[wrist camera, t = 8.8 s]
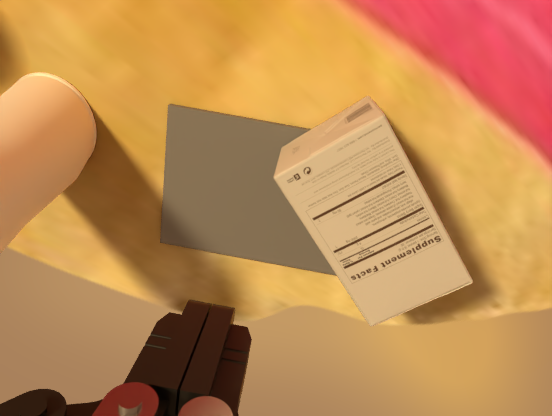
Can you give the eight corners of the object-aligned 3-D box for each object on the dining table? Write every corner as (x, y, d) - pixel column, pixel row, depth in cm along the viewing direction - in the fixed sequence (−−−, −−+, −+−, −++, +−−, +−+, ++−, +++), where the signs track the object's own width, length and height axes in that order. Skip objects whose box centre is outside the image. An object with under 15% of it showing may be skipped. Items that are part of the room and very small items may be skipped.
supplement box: (369, 92, 36) (443, 230, 40) (279, 145, 38) (358, 271, 42) (388, 112, 27) (478, 284, 32) (270, 179, 30) (370, 330, 34)
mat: (390, 143, 38) (391, 145, 37) (353, 275, 43) (354, 278, 43) (170, 103, 38) (168, 104, 37) (162, 239, 44) (160, 242, 43)
